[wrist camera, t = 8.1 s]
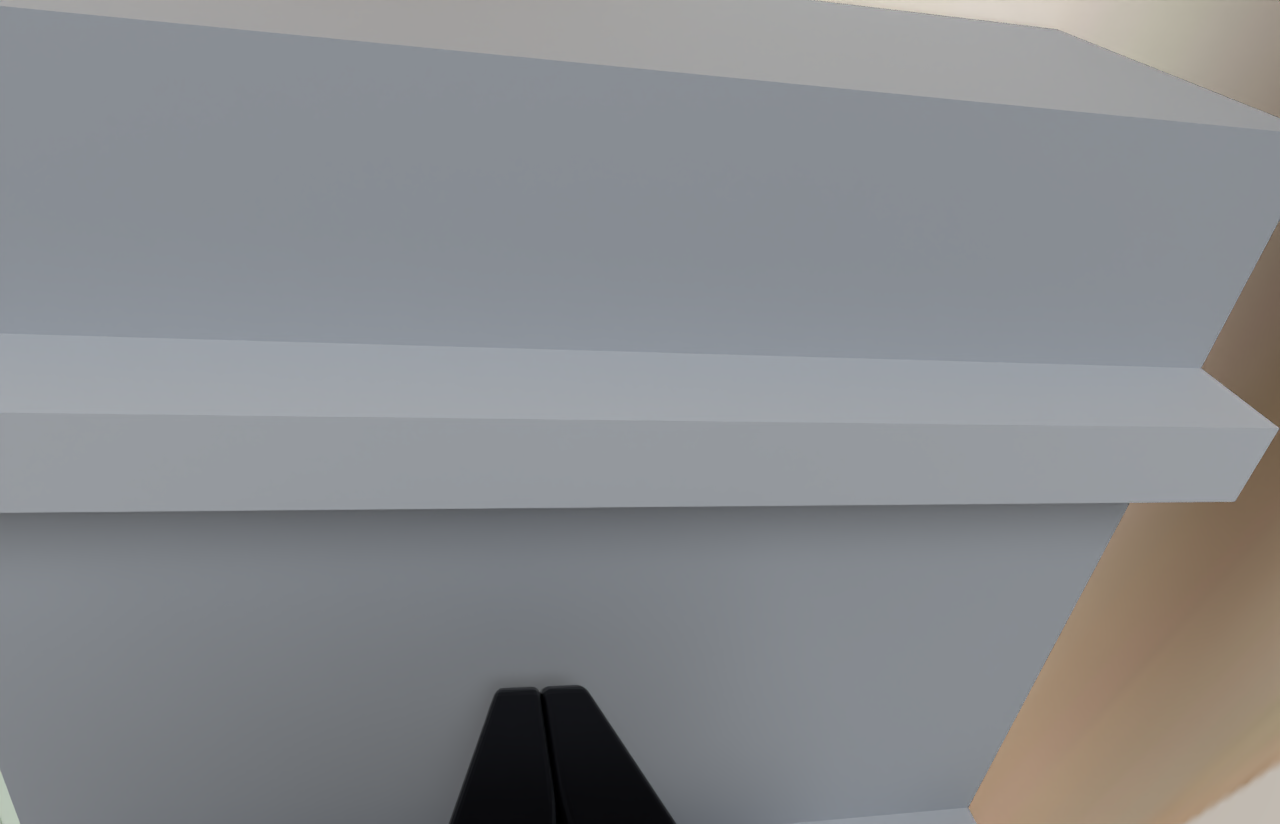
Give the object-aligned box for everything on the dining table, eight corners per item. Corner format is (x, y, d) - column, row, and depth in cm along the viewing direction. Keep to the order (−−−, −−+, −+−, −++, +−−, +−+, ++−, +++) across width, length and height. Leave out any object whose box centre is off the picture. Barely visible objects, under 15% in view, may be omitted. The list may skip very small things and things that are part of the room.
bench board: (1057, 29, 11) (1429, 178, 7) (815, 712, 17) (933, 999, 13) (-11, -99, 8) (-432, 13, 4) (170, 752, 15) (68, 1119, 11)
